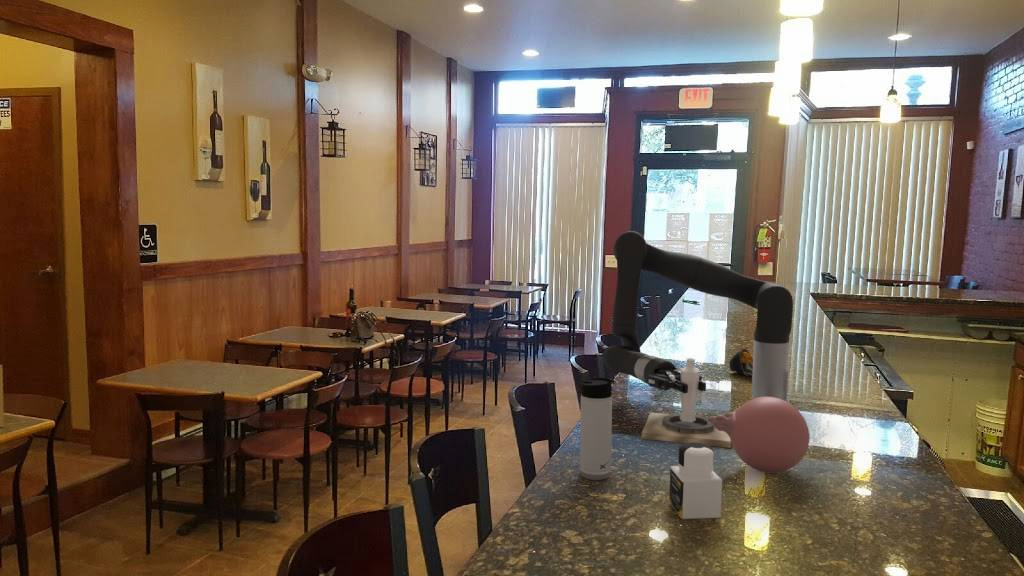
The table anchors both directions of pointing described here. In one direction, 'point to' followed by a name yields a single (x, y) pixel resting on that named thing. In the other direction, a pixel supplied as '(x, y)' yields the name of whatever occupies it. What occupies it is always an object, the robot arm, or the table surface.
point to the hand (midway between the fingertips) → (695, 388)
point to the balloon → (766, 433)
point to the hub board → (684, 430)
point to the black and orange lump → (742, 363)
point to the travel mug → (596, 428)
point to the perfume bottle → (689, 391)
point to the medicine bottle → (695, 483)
